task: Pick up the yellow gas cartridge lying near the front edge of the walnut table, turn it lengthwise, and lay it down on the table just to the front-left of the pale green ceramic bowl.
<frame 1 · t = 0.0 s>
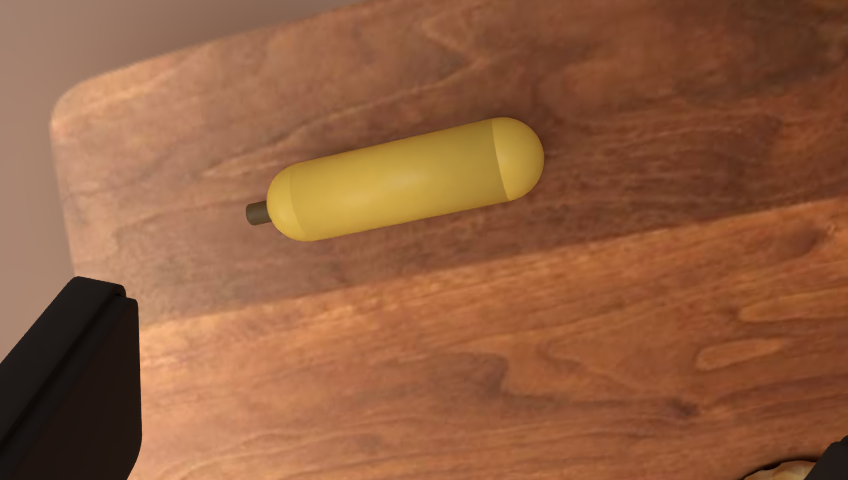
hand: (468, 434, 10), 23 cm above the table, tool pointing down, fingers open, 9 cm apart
yellow gas cartridge: (405, 162, 33), on the table
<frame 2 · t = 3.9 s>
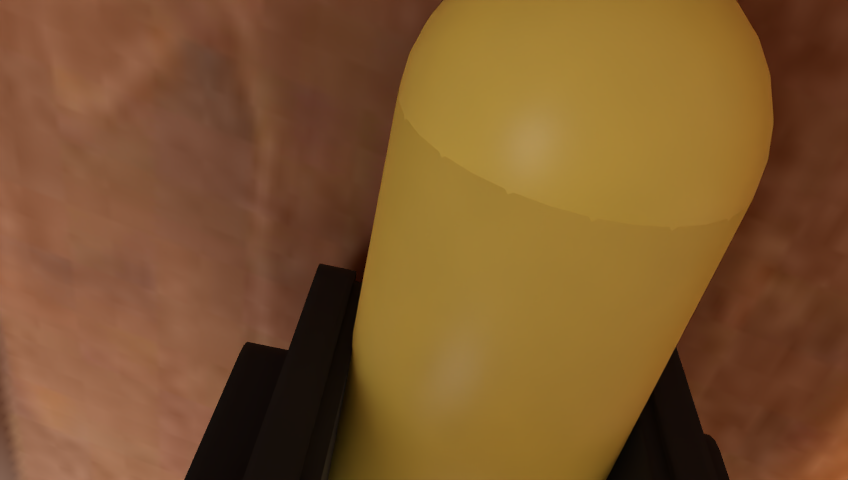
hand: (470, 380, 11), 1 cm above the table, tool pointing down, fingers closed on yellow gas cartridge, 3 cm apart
yellow gas cartridge: (454, 336, 11), on the table, tilted 10°, touching gripper
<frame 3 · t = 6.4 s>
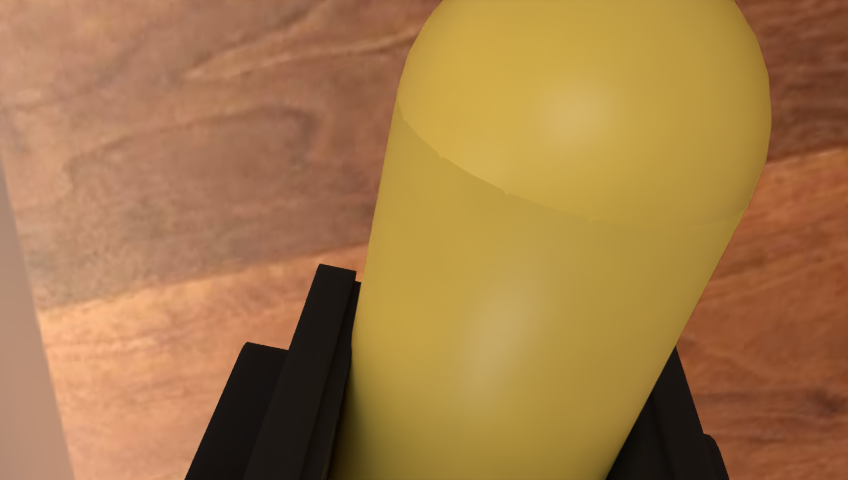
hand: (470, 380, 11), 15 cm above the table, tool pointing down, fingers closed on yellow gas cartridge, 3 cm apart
yellow gas cartridge: (453, 336, 11), point 14 cm above the table, tilted 10°, touching gripper
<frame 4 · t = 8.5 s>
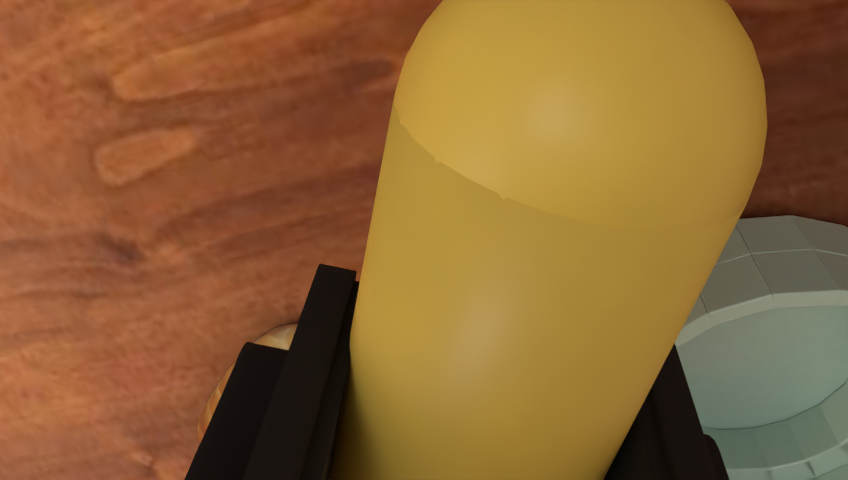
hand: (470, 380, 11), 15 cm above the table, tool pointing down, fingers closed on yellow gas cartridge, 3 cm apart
pastry: (307, 382, 32), on the table
bowl: (740, 339, 29), on the table
yellow gas cartridge: (451, 338, 11), point 15 cm above the table, tilted 10°, touching gripper
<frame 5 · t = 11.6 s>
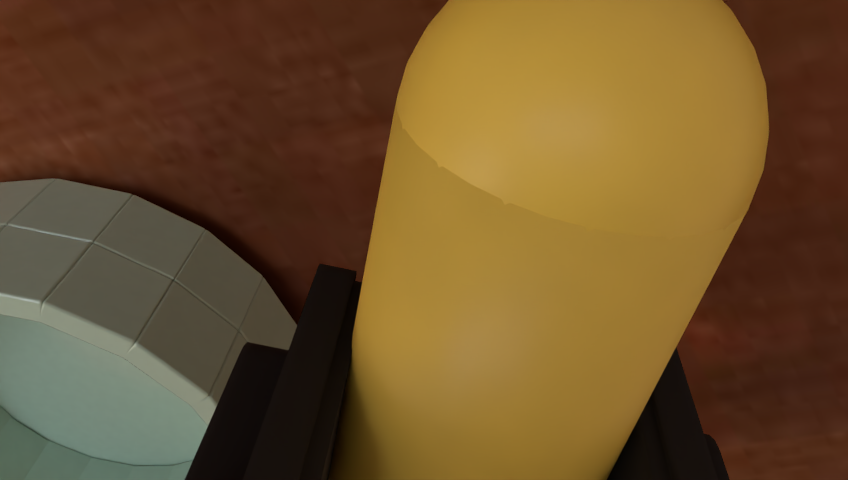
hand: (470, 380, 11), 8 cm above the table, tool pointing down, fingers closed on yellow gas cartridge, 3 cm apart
bowl: (115, 349, 22), on the table
yellow gas cartridge: (452, 341, 11), point 7 cm above the table, tilted 10°, touching gripper
when the fingers open (1 cm above the table, at t = 13.5 s): yellow gas cartridge stays where it is, on the table.
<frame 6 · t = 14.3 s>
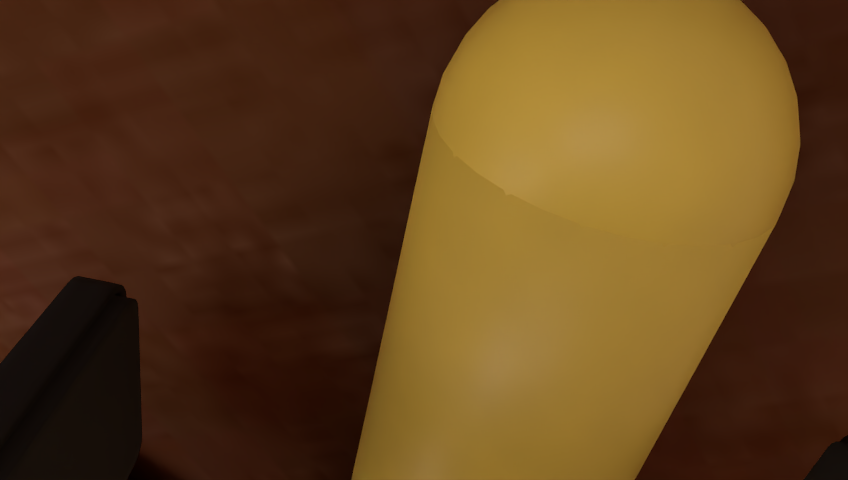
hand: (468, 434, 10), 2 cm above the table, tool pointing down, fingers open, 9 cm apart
yellow gas cartridge: (455, 346, 11), on the table, tilted 21°
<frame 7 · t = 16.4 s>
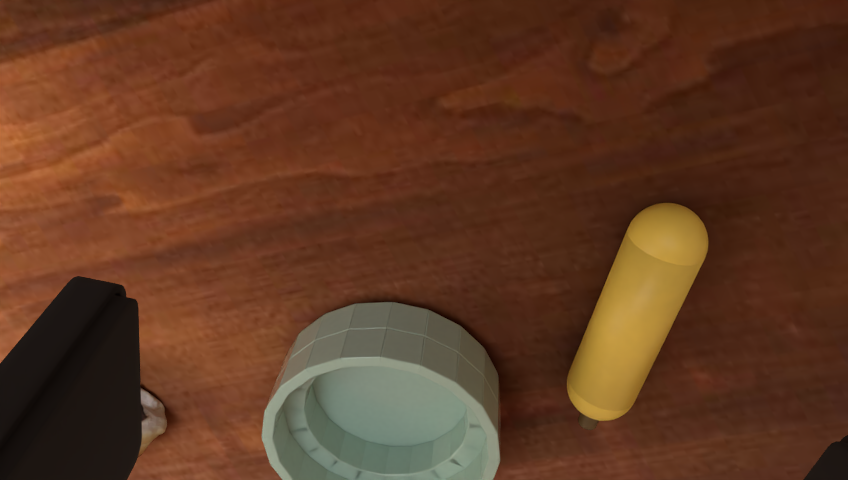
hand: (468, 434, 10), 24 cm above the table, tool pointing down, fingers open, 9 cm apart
pastry: (103, 405, 45), on the table
bowl: (392, 382, 41), on the table
yellow gas cartridge: (598, 301, 36), point 1 cm above the table, tilted 61°
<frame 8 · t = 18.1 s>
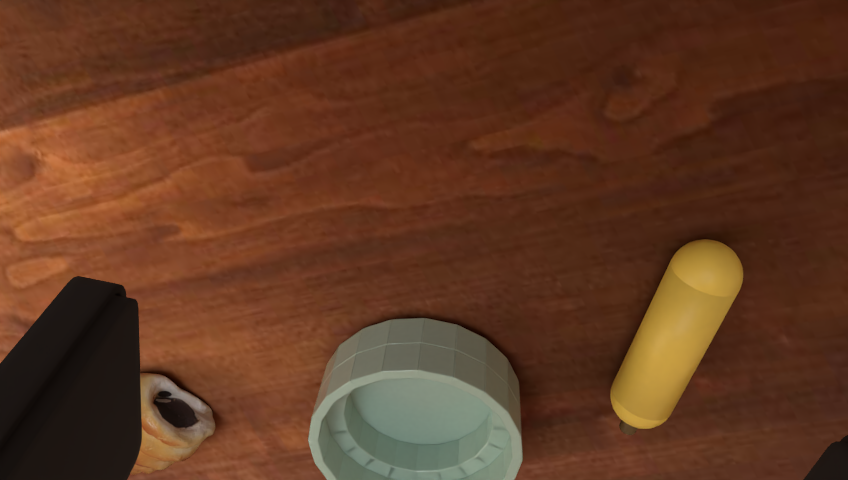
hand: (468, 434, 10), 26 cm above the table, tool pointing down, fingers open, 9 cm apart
pastry: (155, 409, 49), on the table
bowl: (421, 388, 46), on the table
yellow gas cartridge: (646, 343, 39), point 3 cm above the table, tilted 117°
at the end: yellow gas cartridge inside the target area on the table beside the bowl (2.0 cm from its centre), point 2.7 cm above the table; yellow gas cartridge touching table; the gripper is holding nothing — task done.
